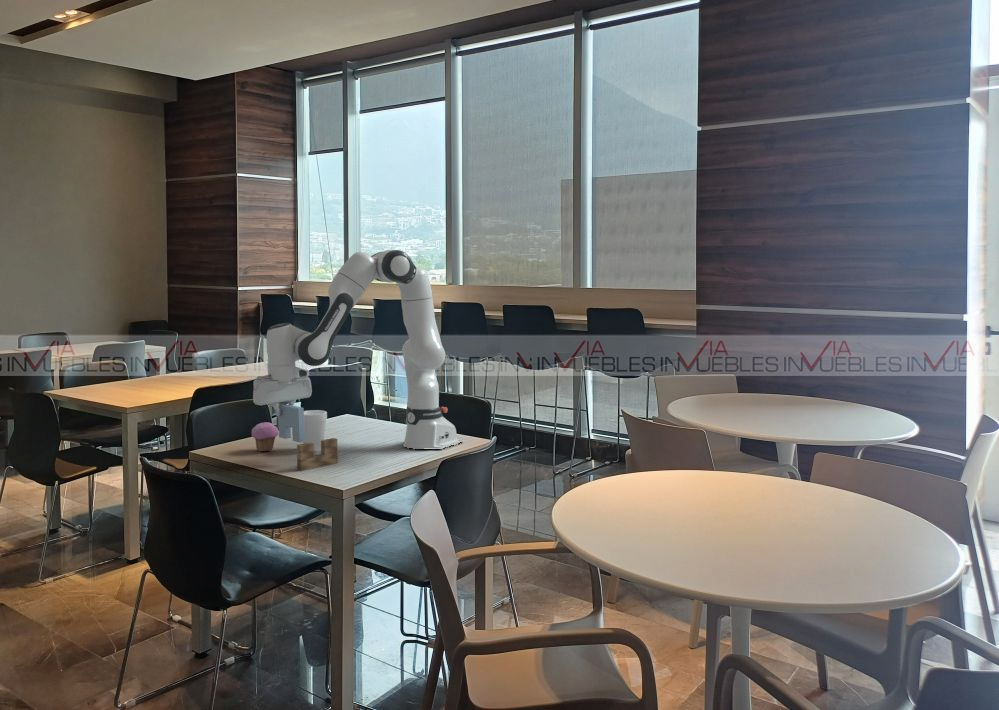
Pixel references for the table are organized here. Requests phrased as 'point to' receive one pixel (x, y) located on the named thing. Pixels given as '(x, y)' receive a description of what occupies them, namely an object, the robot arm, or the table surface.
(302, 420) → the pale blue arch brick
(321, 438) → the foam cup
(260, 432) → the cupcake
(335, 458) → the notched wood cradle
